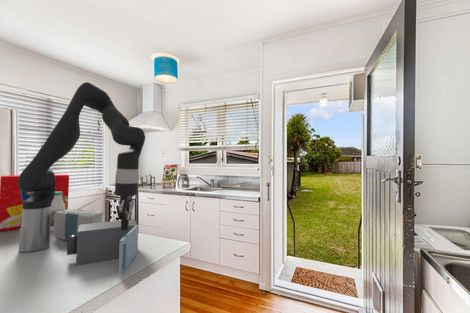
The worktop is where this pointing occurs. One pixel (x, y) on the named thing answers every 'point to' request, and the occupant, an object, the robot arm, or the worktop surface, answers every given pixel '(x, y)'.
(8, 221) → the red cardboard box
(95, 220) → the stereo radio cassette player
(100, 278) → the worktop surface
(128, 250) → the side door
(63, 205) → the milk bottle
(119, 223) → the camera housing
